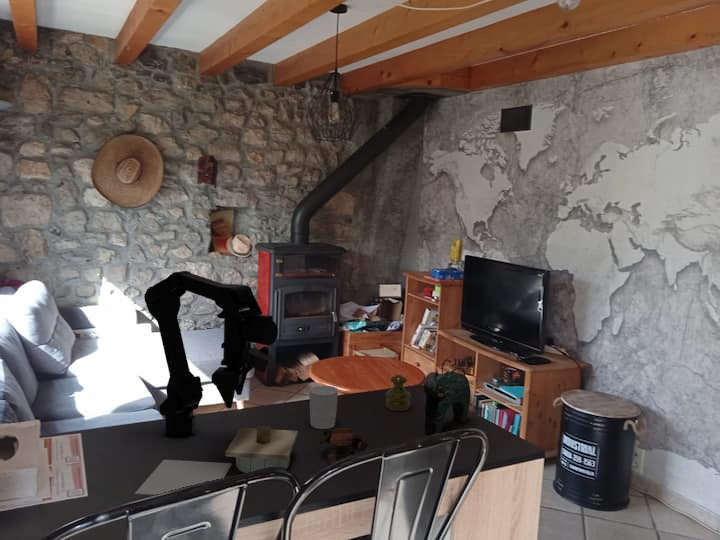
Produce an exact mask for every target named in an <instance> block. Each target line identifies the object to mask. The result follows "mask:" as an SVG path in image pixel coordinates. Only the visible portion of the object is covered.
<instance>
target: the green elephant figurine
mask: <svg viewBox="0 0 720 540" xmlns="http://www.w3.org/2000/svg"><path fill="white" fill-rule="evenodd" d="M446 362H448V363H449V364H451V362H452V361H451V360H450V359H448V358H447V359H444V360H443V362H442V363H441V373H440V372H438V371H436V372H434V371H431V372H429V373H428V374H427V375H426V376H425V377H424V383H423V391H424V393H425V395H426V397H425V408H424V413H425V415H424V417H425V418H424V435H426V436H429V435H431V434H435V433H440V432H441V433H442V428H443V424H444V419H445V416H446V413H447V411H448V409H449V408H450V407H452V415H453V421H454V422H457V423H465V422H466V421H467V420H468V415H469V413H468V412H469V408H470V403H471V386H470V381H469V379H468V377H467V375H466V371H465V368H463V367H460V366H459V367H455V368H454V369H452V370H451V371H450V370H449V371H446V372H444V366H445V364H446ZM456 370H462V372H463V373H462V372H458V371H456Z"/></svg>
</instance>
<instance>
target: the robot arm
mask: <svg viewBox="0 0 720 540" xmlns="http://www.w3.org/2000/svg"><path fill="white" fill-rule="evenodd" d="M187 292H189V293H192V294H194V295H198V296H199V297H203V298H205V299H208V300H211V301H213V302H214V303H215V305H216V306H217V307H219V308H220V309H222V310H221V311H220V312H219V313H218V314H217V315H216V318H218V319H221V320H222V319H223V342H222V343H221V344H220V345H221V346H220V348H221V349H223V355H222V356H223V358H222V359H221V361H220V366H219V367H218V368H217V369H216V370H215V371H214V372H213V373H212V374H211V383H212V384H213V385H214V386H215V387H216V389H217V391H218V393H219V395H220V397H221V398H222V401H223V402H224V405H225V407H226V409H232V407H233V403H234V397H235V394H236V395H237V396H242V393H243V390H244V387H245V383H246V380H247V376H248V373H249V372H250V371H251V370H253V369H255V370H257V371H259V372H260V373H265V372H266V371H267V370H268V368H269V366H270V363H271V360H272V358H273V356H272V353H271V351H270V347H269V346H271V345H273V344H274V343H275V341H276V340H277V337H278V333H279V329H278V326H277V324H276V322H275V321H274V320H273V315H268V314H267V315H265V314H263V311H262V309H261V307H260V305H259V303H258V302H257V299H256V297H255V295H254V294H253V293H254V292H253V291H252V287H250V286H249V285H246V284H240V283H239V284H237V283H223V282H219V281H216V280H212V279H210V278H206V277H203V276H200V275H197V274H195V273H193V272H192V271H191V272H190V271H188V270H181V271H180V270H179V271H174V272H172V273H170V274H169V275H168V276H167V277H166V278H164V279H162V280H160V281H158V282H157V283H155V284H154V285H152V286H149V287H148V288H147V289H146V291H145V293H144V295H143V296H144V302H145V306H146V307H147V311H148V313H149V314H150V315H151V316H152V317H153V319H155V320H156V323H157V325H158V330H159V334H160V339H161V342H162V348H163V351H164V356H165V361H166V364H167V365H166V366H167V369H168V375H169V379H168V381H167V384H166V391H165V392H166V398H165V399H164V400H163V401H162V402H161V404H159V406H158V409H159V413H160V415H162V416H165V433H164V434H163V435H162V437H163V438H177V439H188V438H189V437H191V436H192V435H193V434H194V433H195V431H196V416H195V415H194V410H197V409H199V405H200V403H201V400H202V399H203V396H204V395H203V392H204V388H203V386H202V381H201V377H200V375H196V376H195V375H194V374H193V373H192V372H191V370H190V366H189V362H188V358H187V352H186V349H185V346H184V345H185V344H184V340H183V336H182V331H181V328H180V322H179V319H178V316H179V312H180V309H181V305H182V304H181V298H182V297H183V296H185V294H186V293H187ZM252 343H253V344H259V345H263V346H262V347H261V348H260V349H259V348H254V347H252Z"/></svg>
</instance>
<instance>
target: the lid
mask: <svg viewBox="0 0 720 540" xmlns="http://www.w3.org/2000/svg"><path fill="white" fill-rule="evenodd" d="M298 435H299V431H298V430H288V429H272V428H271V426H270V425H267V424H261V425H258V426H256V428H252V427H251V428H250V427H240V429H239V430H238V432H236V435H235V436H234V438H233V440H232V441H231V442H230V444H229V445H228V446H227V449H226V450H225V452H224V454H225V455H224V456H225V457H229V458H230V457H231V458H236V457H244V458H262V459H280V460H289V457H290V458H291V454H292V452H293V449H294V446H295V444H296V441H297V438H298Z"/></svg>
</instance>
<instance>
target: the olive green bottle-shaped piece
mask: <svg viewBox="0 0 720 540" xmlns="http://www.w3.org/2000/svg"><path fill="white" fill-rule="evenodd" d="M390 381H391V382H392V383H393V386H392V387H391V388H390V389H389V390H387V391H386V392H385V397H386V399H385V407H386V409H388V410H390V411H393V412H406V411H408V410H409V409H410V407H411V404H410V403H411V400H410V399H411V393H410V391H408V390H407V389H406V388H405V387H404V385H405V384H406V383H407V382H408V379H407V377H405V376H403V375H402V374H396V375H394V376H392V377H390Z"/></svg>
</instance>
